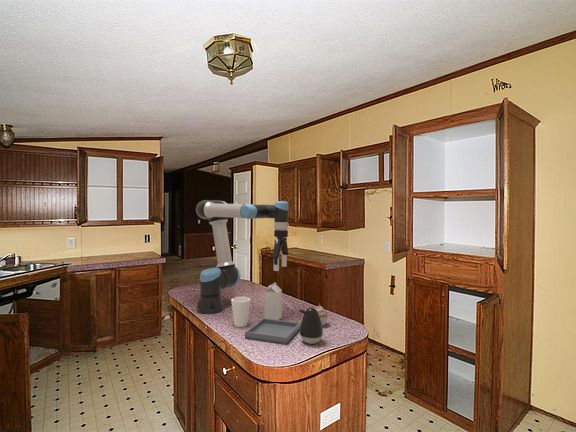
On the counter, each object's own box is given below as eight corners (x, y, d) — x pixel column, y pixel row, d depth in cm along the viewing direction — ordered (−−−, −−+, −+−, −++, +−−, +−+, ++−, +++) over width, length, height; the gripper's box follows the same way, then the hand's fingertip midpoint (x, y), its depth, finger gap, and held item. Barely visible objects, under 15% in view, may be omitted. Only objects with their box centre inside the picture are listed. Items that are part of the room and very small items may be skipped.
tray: (244, 338, 149) (245, 331, 149) (262, 324, 168) (262, 318, 168) (286, 344, 142) (286, 337, 142) (300, 329, 161) (300, 323, 161)
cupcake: (305, 324, 168) (306, 304, 168) (319, 320, 174) (319, 301, 173) (318, 329, 161) (318, 309, 160) (332, 325, 166) (332, 305, 166)
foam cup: (246, 329, 161) (246, 302, 160) (228, 327, 163) (228, 301, 162) (252, 322, 170) (252, 297, 170) (235, 321, 172) (235, 296, 172)
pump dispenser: (298, 337, 150) (298, 304, 150) (320, 337, 151) (320, 304, 151) (300, 346, 140) (301, 311, 140) (324, 346, 141) (325, 310, 141)
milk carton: (281, 317, 178) (282, 282, 177) (277, 322, 171) (277, 285, 171) (269, 316, 180) (269, 281, 180) (264, 320, 173) (264, 284, 173)
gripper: (280, 231, 166) (279, 273, 167) (294, 228, 190) (293, 265, 191) (266, 230, 168) (265, 272, 169) (281, 228, 192) (280, 264, 193)
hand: (280, 268), depth 180 cm, fingers open, 13 cm apart
